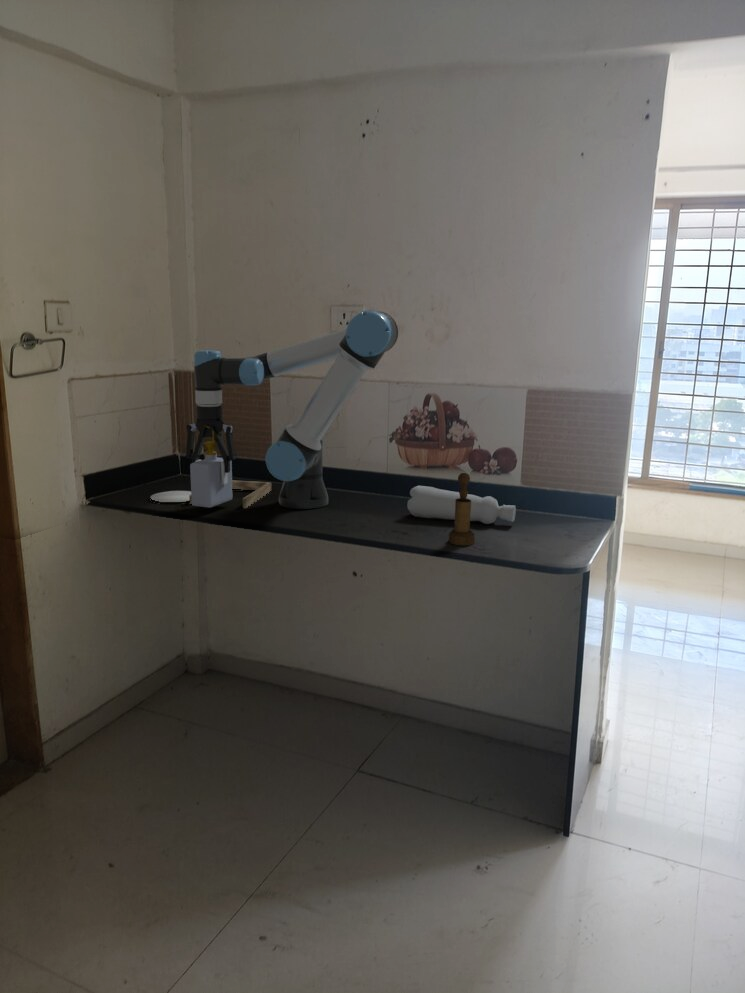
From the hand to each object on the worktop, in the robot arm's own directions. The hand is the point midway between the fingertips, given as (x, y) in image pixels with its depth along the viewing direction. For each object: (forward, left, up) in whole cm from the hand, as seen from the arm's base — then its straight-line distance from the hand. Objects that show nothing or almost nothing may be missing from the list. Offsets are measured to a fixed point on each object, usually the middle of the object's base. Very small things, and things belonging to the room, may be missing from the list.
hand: (211, 482), depth 225 cm
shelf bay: (0, -15, -8) cm, 17 cm away
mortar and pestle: (-75, +17, -8) cm, 78 cm away
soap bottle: (0, 0, -6) cm, 6 cm away
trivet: (+17, -11, -8) cm, 22 cm away
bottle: (-73, -4, -9) cm, 74 cm away
